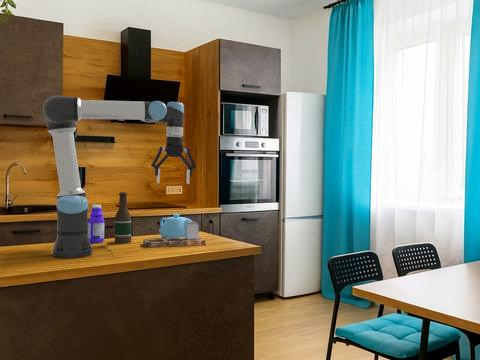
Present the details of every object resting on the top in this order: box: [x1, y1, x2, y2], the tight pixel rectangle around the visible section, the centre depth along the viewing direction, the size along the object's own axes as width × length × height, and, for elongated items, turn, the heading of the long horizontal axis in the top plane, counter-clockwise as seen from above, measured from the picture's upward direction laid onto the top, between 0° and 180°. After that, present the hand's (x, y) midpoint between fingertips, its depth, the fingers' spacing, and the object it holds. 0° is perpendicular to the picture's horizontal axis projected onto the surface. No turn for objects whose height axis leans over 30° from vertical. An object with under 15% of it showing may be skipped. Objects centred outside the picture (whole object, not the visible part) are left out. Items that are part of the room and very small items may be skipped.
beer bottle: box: [114, 191, 132, 245], centre depth 219 cm, size 8×8×24 cm
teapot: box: [158, 213, 193, 239], centre depth 238 cm, size 20×20×13 cm
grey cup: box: [185, 221, 199, 240], centre depth 218 cm, size 5×5×10 cm
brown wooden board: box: [142, 236, 206, 249], centre depth 215 cm, size 26×10×3 cm, turn 110°
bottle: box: [88, 204, 105, 244], centre depth 226 cm, size 7×6×17 cm
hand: (173, 183), depth 219 cm, fingers open, 13 cm apart
